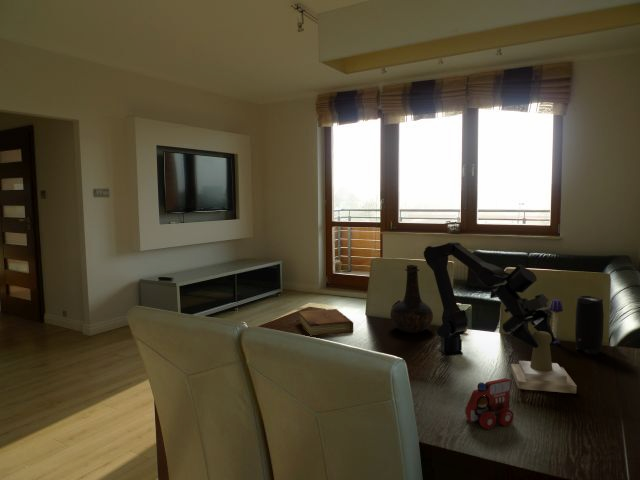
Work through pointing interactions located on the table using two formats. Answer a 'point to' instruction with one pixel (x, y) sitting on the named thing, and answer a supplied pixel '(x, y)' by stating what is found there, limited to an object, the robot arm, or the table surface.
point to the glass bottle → (411, 307)
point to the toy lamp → (555, 317)
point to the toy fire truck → (490, 404)
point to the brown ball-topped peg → (542, 352)
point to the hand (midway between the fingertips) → (546, 344)
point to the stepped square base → (542, 378)
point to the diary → (325, 322)
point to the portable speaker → (589, 324)
